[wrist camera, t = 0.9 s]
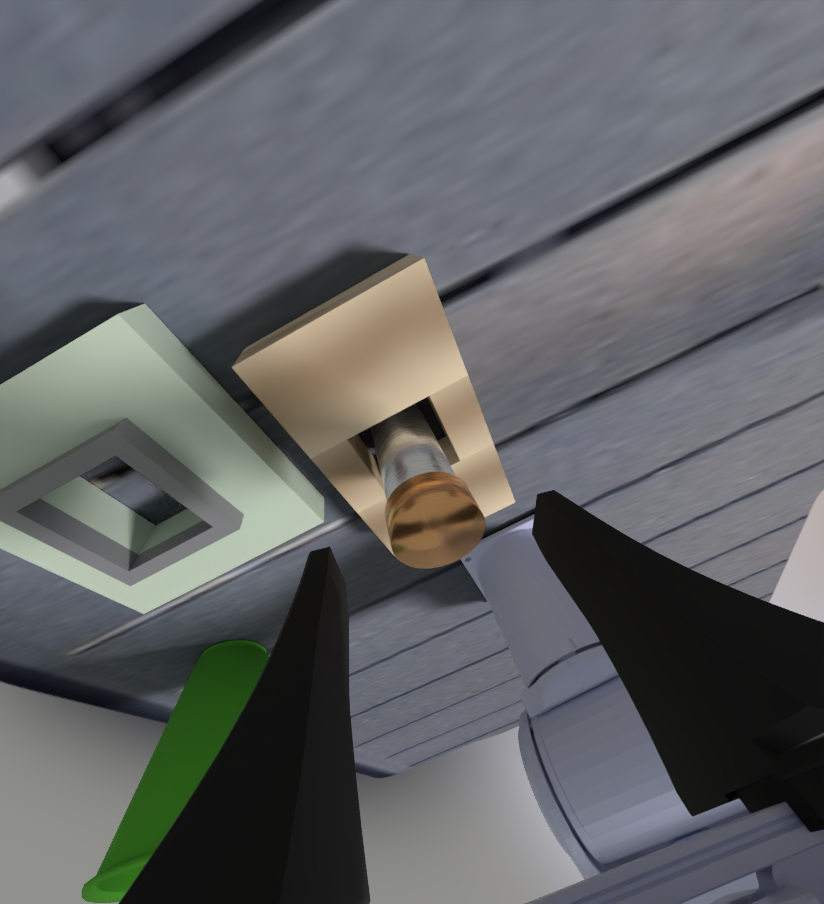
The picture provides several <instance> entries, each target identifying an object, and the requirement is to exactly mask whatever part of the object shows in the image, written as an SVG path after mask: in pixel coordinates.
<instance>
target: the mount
mask: <svg viewBox="0 0 824 904" xmlns="http://www.w3.org/2000/svg"><path fill="white" fill-rule="evenodd" d="M232 369H233V370H234V371H235V372H236V373H237V374H238V376H239V377H240V378H241V379H242V380H243V381H244V382H245V384H246V385H247V386H248V387H249V388H250V389H251V391H252V392H253V393H254V394H255V395H256V396H257V397H258V399H259V400H260V401H261V402H262V403H263V404H264V406H265V407H266V408H267V409H268V410H269V411H270V413H271V414H272V415H273V416H274V417H275V418H276V419H277V421H278V422H279V423H280V424H281V425H282V426H283V428H284V429H285V430H286V431H287V432H288V433H289V435H290V436H291V437H292V438H293V439H294V440H295V441H296V443H297V444H298V445H299V446H300V447H301V448H302V450H303V451H304V452H305V453H306V454H307V455H308V456H309V458H310V459H311V460H312V461H313V462H314V463H315V465H316V466H317V467H318V468H319V469H320V470H321V472H322V473H323V474H324V475H325V476H326V477H327V478H328V480H329V481H330V482H331V483H332V484H333V485H334V487H335V488H336V489H337V490H338V491H339V492H340V494H341V495H342V496H343V497H344V498H345V499H346V500H347V502H348V503H349V504H350V505H351V506H352V507H353V509H354V510H355V511H356V512H357V513H358V514H359V516H360V517H361V518H362V519H363V520H364V521H365V522H366V524H367V525H368V526H369V527H370V528H371V529H372V531H373V532H374V533H375V534H376V535H377V536H378V537H379V539H380V540H381V541H382V542H383V543H384V544H385V546H386V547H387V548H388V549H389V550H390V551H391V553H392V554H393V552H392V548H391V543H390V538H389V534H388V529H387V524H386V519H385V506H386V502H387V499H386V495H385V491H384V486H383V482H382V477H381V473H380V468H379V464H378V462H377V461H376V459H375V458H374V457H373V455H372V454H371V452H370V451H369V449H368V448H367V446H366V445H365V444H364V442H363V441H362V439H361V438H360V436H359V435H358V433H360V432H362V431H364V430H366V429H368V428H370V427H371V426H373V425H375V424H377V423H379V422H381V421H383V420H385V419H387V418H388V417H390V416H392V415H394V414H396V413H398V412H400V411H402V410H403V409H405V408H407V407H409V406H411V405H413V404H415V403H417V402H419V401H420V400H422V399H424V398H426V397H427V398H428V400H429V402H430V404H431V406H432V408H433V410H434V412H435V415H436V417H437V419H438V421H439V423H440V425H441V427H442V429H443V431H444V433H445V435H446V437H444V438H442V439H440V440H438V443H439V445H440V447H441V449H442V451H443V453H444V454H445V456H446V458H447V460H448V462H449V464H450V466H451V468H452V469H453V471H454V473H455V475H456V476H457V477H459V478H460V479H462V480H463V481H464V482H465V483H466V485H467V487H468V488H469V490H470V492H471V494H472V495H473V497H474V499H475V501H476V503H477V504H478V506H479V508H480V510H481V512H482V513H483V515H484V517H486V516H488V515H491V514H493V513H495V512H497V511H499V510H501V509H503V508H505V507H507V506H509V505H511V504H513V503H515V500H514V497H513V494H512V492H511V489H510V486H509V484H508V481H507V478H506V476H505V473H504V470H503V468H502V465H501V462H500V460H499V457H498V454H497V452H496V449H495V446H494V444H493V441H492V438H491V436H490V433H489V430H488V427H487V425H486V422H485V419H484V417H483V414H482V411H481V409H480V406H479V403H478V401H477V398H476V395H475V393H474V390H473V387H472V385H471V382H470V379H469V377H468V374H467V371H466V369H465V366H464V363H463V361H462V358H461V355H460V352H459V350H458V347H457V344H456V342H455V339H454V336H453V334H452V331H451V328H450V326H449V323H448V320H447V318H446V315H445V312H444V310H443V307H442V304H441V302H440V299H439V296H438V294H437V291H436V288H435V285H434V283H433V280H432V277H431V275H430V272H429V269H428V267H427V264H426V261H425V259H424V258H423V257H419V256H415V255H411V254H409V255H407V256H405V257H403V258H402V259H400V260H398V261H396V262H395V263H393V264H391V265H389V266H388V267H386V268H384V269H382V270H381V271H379V272H377V273H375V274H374V275H372V276H370V277H368V278H367V279H365V280H363V281H361V282H360V283H358V284H356V285H354V286H353V287H351V288H349V289H347V290H346V291H344V292H342V293H340V294H339V295H337V296H335V297H333V298H332V299H330V300H328V301H326V302H325V303H323V304H321V305H319V306H318V307H316V308H314V309H312V310H311V311H309V312H307V313H305V314H304V315H302V316H300V317H298V318H297V319H295V320H293V321H291V322H290V323H288V324H286V325H284V326H283V327H281V328H279V329H277V330H276V331H274V332H272V333H270V334H269V335H267V336H265V337H263V338H262V339H260V340H258V341H256V342H255V343H253V344H251V345H249V346H248V347H246V348H245V349H244V350H243V352H242V353H241V354H240V356H239V357H238V359H237V360H236V362H235V363H234V364H233V366H232ZM393 555H394V554H393ZM394 556H395V555H394Z"/></svg>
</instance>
